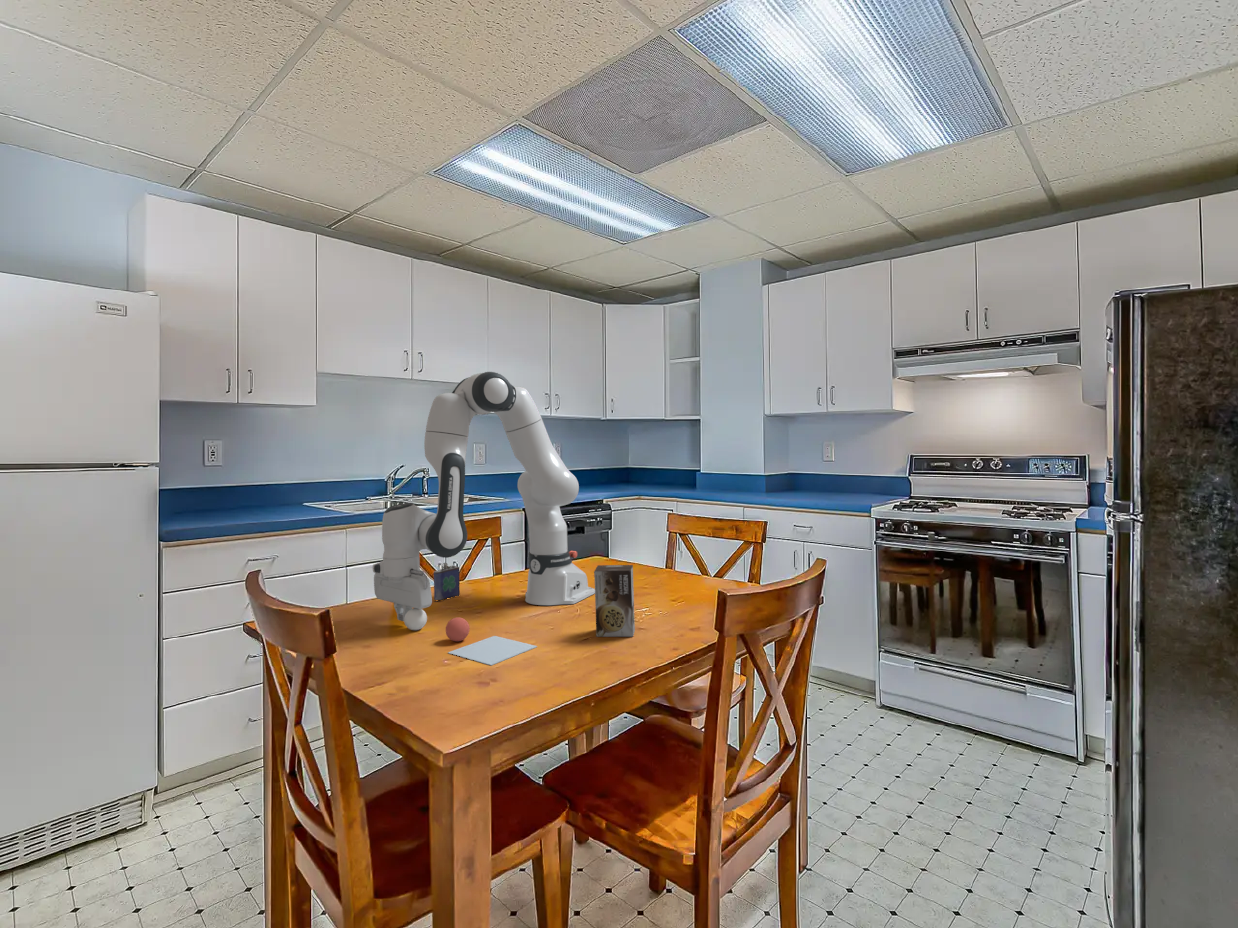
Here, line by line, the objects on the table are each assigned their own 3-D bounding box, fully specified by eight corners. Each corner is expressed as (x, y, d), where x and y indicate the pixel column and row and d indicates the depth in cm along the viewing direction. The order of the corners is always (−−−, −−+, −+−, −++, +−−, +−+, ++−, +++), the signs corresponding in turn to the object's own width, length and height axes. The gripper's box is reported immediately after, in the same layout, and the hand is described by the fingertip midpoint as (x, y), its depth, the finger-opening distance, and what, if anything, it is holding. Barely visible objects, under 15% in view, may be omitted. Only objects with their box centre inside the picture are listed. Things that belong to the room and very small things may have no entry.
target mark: (494, 636, 152) (494, 635, 152) (537, 646, 144) (537, 645, 144) (447, 653, 141) (447, 652, 141) (491, 665, 132) (491, 664, 132)
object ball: (459, 635, 153) (458, 613, 153) (474, 639, 150) (474, 616, 150) (441, 641, 149) (440, 618, 148) (456, 646, 145) (455, 622, 145)
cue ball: (418, 625, 163) (417, 604, 162) (431, 628, 159) (431, 607, 159) (399, 630, 158) (399, 609, 158) (413, 634, 155) (412, 612, 155)
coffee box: (635, 629, 156) (634, 564, 155) (633, 637, 149) (632, 569, 149) (598, 628, 157) (597, 564, 156) (595, 636, 150) (593, 569, 150)
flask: (438, 602, 185) (436, 566, 185) (431, 601, 187) (430, 565, 187) (462, 595, 193) (461, 560, 193) (455, 594, 195) (454, 559, 194)
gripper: (437, 569, 158) (439, 623, 158) (390, 560, 170) (392, 611, 171) (415, 574, 153) (417, 630, 153) (368, 565, 165) (370, 617, 166)
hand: (403, 620), depth 162 cm, fingers closed
